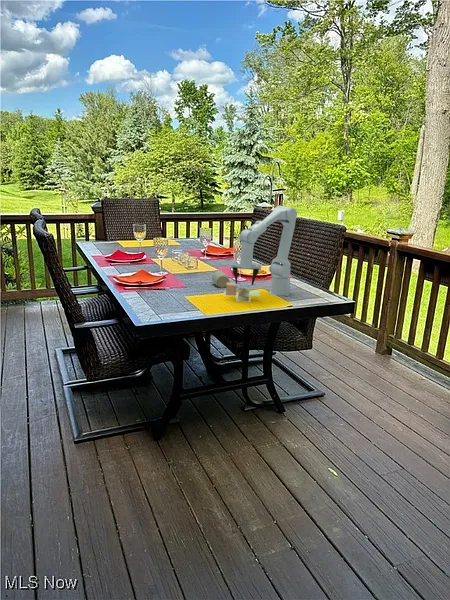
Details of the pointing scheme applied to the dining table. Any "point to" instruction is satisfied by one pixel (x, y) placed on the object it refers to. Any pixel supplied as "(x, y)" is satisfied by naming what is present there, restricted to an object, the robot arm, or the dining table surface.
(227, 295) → the code tile
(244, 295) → the birch block
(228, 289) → the terracotta block
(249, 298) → the code tile
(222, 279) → the ceramic mug
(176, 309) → the dining table surface
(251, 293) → the coaster
